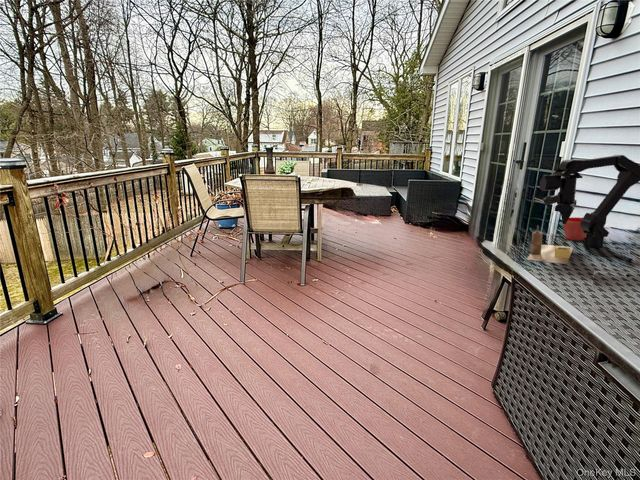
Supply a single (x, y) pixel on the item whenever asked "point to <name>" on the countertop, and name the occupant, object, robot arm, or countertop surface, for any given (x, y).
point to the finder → (562, 252)
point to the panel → (549, 255)
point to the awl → (536, 242)
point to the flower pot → (574, 229)
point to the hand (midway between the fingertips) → (564, 223)
